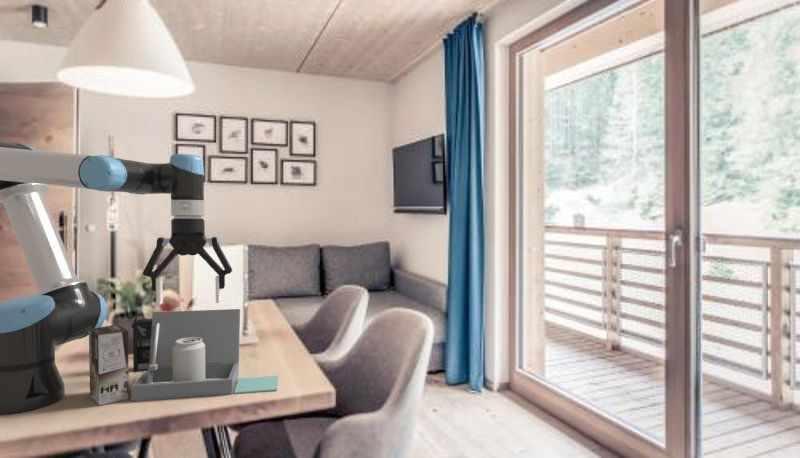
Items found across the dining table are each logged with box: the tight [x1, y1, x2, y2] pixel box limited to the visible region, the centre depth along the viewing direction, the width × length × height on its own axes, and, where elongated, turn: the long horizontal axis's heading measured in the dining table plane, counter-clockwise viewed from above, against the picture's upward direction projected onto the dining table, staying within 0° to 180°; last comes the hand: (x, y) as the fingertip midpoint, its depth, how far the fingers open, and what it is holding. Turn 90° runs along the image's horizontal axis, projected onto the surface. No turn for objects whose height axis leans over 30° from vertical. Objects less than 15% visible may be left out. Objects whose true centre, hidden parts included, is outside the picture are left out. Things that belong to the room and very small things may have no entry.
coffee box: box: [88, 324, 130, 406], centre depth 112 cm, size 9×6×16 cm
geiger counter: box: [131, 314, 159, 373], centre depth 133 cm, size 10×4×15 cm, turn 110°
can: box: [172, 337, 207, 382], centre depth 118 cm, size 8×8×12 cm
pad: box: [233, 375, 279, 395], centre depth 120 cm, size 10×10×1 cm
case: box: [131, 308, 241, 402], centre depth 120 cm, size 22×18×17 cm
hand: (189, 303), depth 118 cm, fingers open, 13 cm apart
